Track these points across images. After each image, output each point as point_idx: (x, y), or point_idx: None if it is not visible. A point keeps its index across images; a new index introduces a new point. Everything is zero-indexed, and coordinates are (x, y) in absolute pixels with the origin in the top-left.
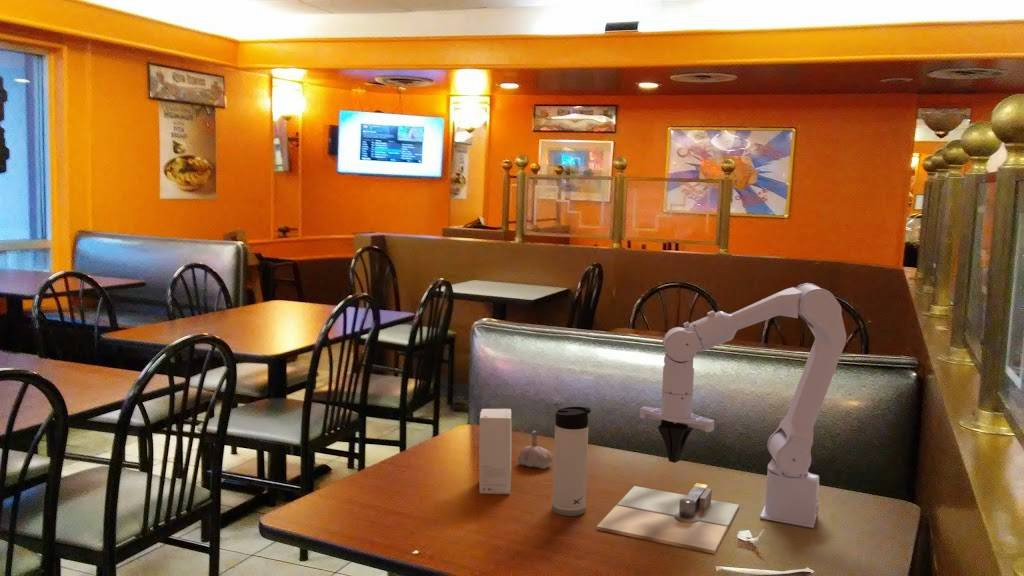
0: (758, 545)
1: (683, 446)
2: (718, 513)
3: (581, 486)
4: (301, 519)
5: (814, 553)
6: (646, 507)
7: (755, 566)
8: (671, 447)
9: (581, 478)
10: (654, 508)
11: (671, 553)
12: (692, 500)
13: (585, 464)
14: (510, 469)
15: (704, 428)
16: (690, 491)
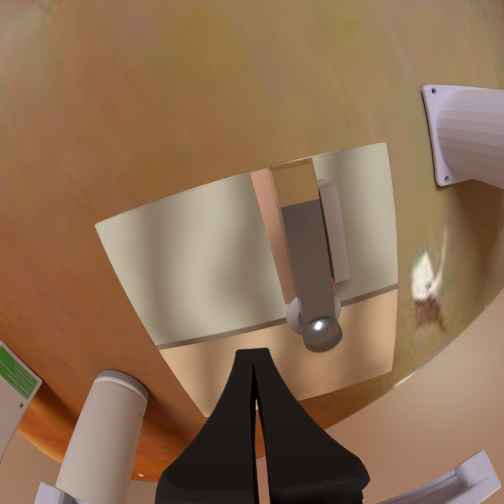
0: (442, 299)
1: (289, 390)
2: (365, 237)
3: (138, 434)
4: (57, 457)
5: (497, 263)
6: (209, 323)
7: (437, 353)
8: (254, 431)
9: (135, 447)
10: (226, 316)
11: (335, 401)
12: (332, 326)
13: (127, 464)
14: (21, 398)
15: (441, 485)
16: (293, 259)
